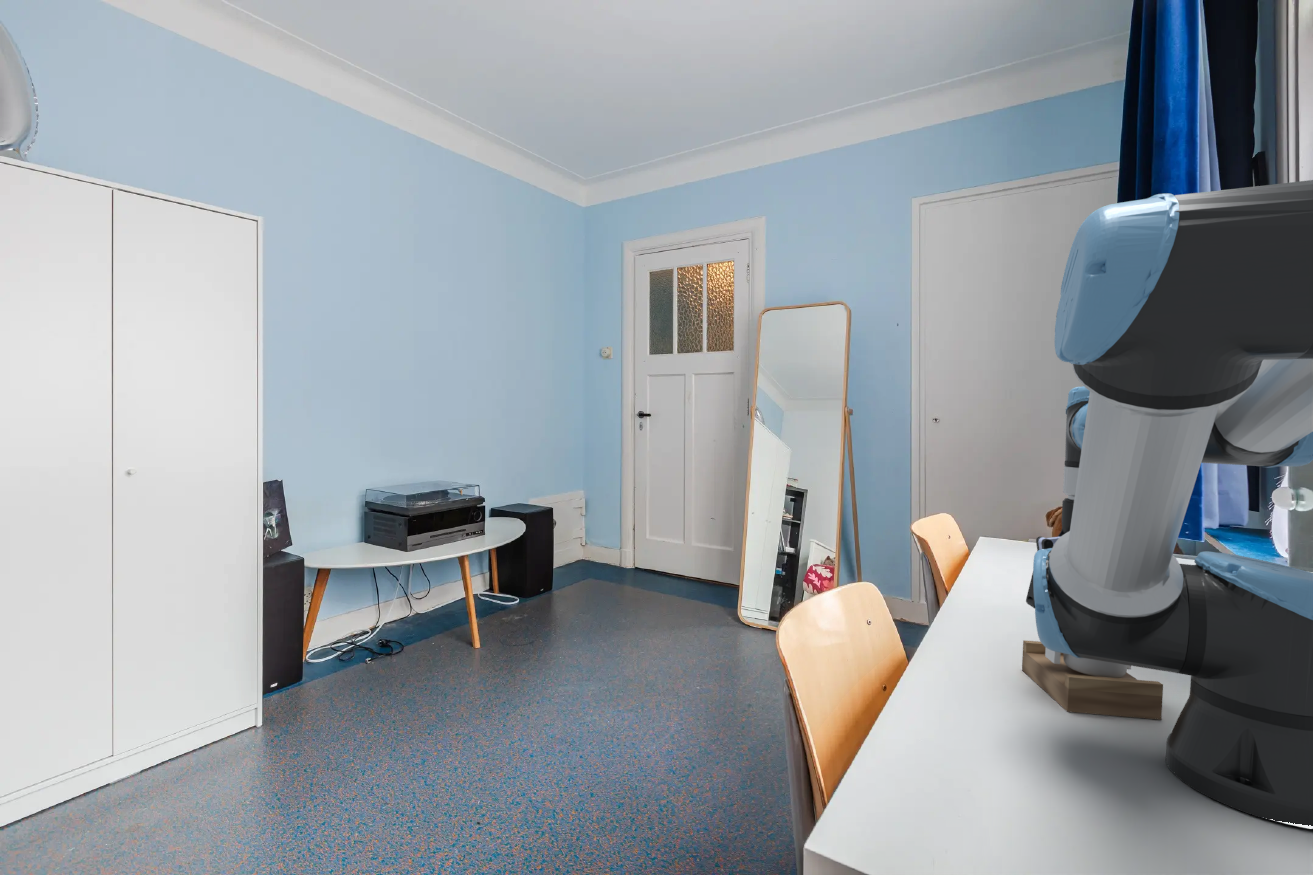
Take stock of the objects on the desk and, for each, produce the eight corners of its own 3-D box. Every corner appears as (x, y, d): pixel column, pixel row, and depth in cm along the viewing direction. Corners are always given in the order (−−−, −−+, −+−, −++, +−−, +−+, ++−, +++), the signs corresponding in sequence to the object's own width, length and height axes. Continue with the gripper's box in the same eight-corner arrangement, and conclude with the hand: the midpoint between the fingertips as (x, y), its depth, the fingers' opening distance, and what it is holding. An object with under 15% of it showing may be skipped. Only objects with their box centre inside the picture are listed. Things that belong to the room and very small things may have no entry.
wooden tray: (1161, 719, 81) (1163, 684, 81) (1067, 711, 83) (1068, 677, 83) (1101, 676, 95) (1102, 646, 95) (1021, 669, 97) (1023, 640, 96)
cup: (1116, 683, 83) (1119, 614, 82) (1032, 659, 90) (1035, 596, 90) (1134, 670, 87) (1137, 605, 87) (1052, 649, 95) (1055, 589, 95)
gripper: (1162, 499, 90) (1153, 659, 91) (1002, 492, 93) (995, 647, 94) (1198, 506, 83) (1189, 680, 83) (1024, 498, 86) (1016, 666, 86)
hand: (1087, 662), depth 89 cm, fingers open, 8 cm apart
